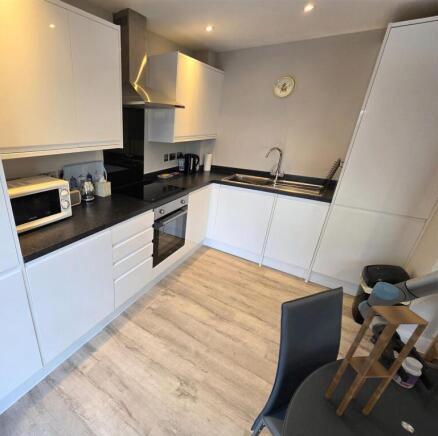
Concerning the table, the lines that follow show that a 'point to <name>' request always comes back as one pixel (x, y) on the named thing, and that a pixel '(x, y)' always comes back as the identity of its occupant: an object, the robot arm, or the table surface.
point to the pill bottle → (409, 372)
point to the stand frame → (371, 363)
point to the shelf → (399, 315)
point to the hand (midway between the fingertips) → (418, 383)
